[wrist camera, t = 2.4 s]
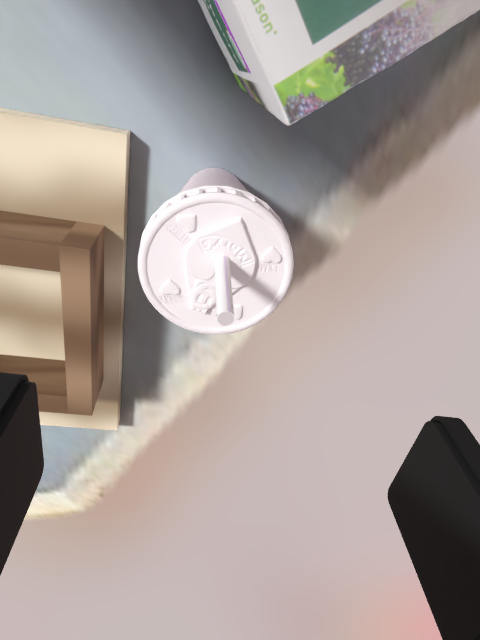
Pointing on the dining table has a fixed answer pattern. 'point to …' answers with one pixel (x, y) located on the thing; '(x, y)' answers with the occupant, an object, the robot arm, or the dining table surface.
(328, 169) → the dining table surface
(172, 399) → the dining table surface
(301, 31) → the syrup box
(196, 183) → the smoothie
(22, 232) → the socket stand
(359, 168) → the dining table surface
